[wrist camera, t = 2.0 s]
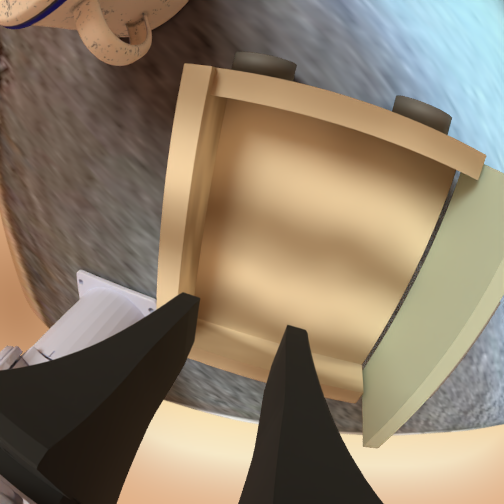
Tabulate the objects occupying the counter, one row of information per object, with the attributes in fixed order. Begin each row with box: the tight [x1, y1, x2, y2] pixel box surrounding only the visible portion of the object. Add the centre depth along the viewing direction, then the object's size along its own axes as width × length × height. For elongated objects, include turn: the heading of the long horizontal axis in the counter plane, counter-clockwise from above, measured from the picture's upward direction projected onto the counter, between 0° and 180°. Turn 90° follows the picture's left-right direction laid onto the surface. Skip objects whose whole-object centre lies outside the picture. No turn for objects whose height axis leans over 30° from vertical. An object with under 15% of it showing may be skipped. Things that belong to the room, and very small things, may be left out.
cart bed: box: [156, 52, 486, 403], centre depth 16 cm, size 18×13×5 cm
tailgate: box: [362, 164, 504, 448], centre depth 13 cm, size 15×2×6 cm, turn 168°
